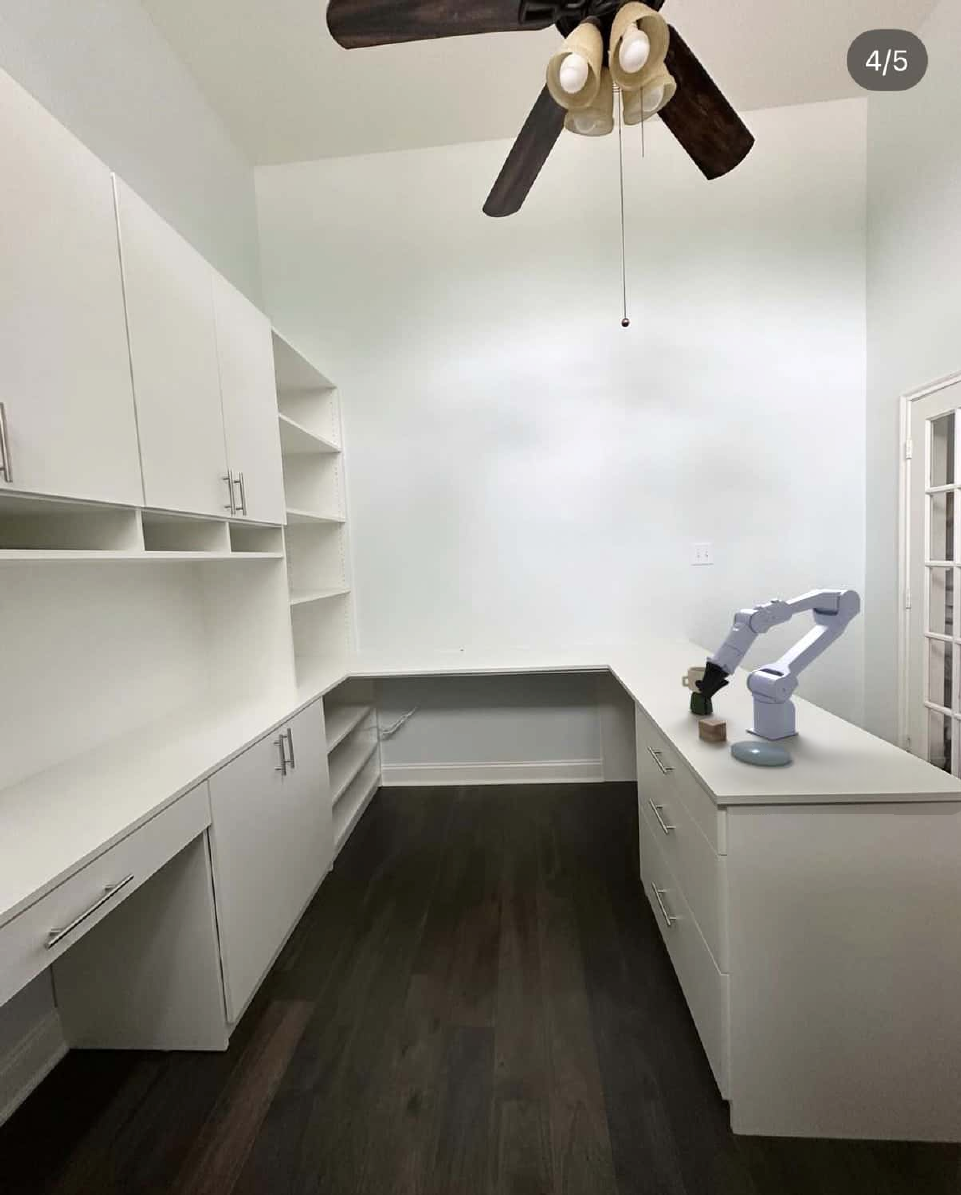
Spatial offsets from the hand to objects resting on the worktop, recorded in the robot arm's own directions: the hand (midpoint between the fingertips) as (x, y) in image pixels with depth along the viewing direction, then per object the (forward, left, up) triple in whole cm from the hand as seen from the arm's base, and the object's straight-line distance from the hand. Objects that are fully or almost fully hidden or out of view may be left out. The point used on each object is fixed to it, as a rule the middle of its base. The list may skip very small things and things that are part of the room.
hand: (702, 695), depth 124 cm
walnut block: (-4, -1, -12) cm, 13 cm away
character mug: (-17, -18, -12) cm, 28 cm away
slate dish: (-5, +12, -12) cm, 18 cm away
